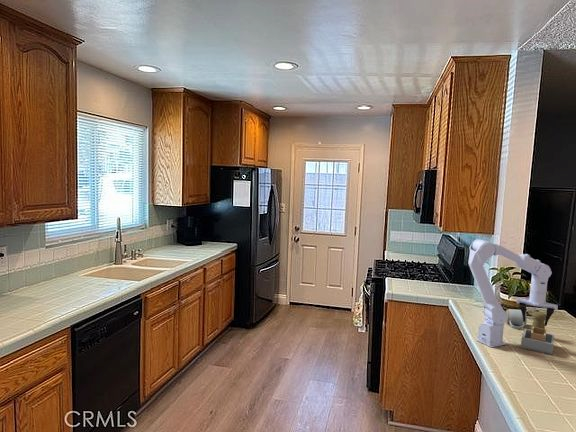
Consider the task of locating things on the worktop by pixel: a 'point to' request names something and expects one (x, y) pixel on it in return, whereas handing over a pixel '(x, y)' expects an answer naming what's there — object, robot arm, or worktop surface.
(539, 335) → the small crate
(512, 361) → the worktop surface
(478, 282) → the robot arm
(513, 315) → the ceramic mug
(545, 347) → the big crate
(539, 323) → the cork
